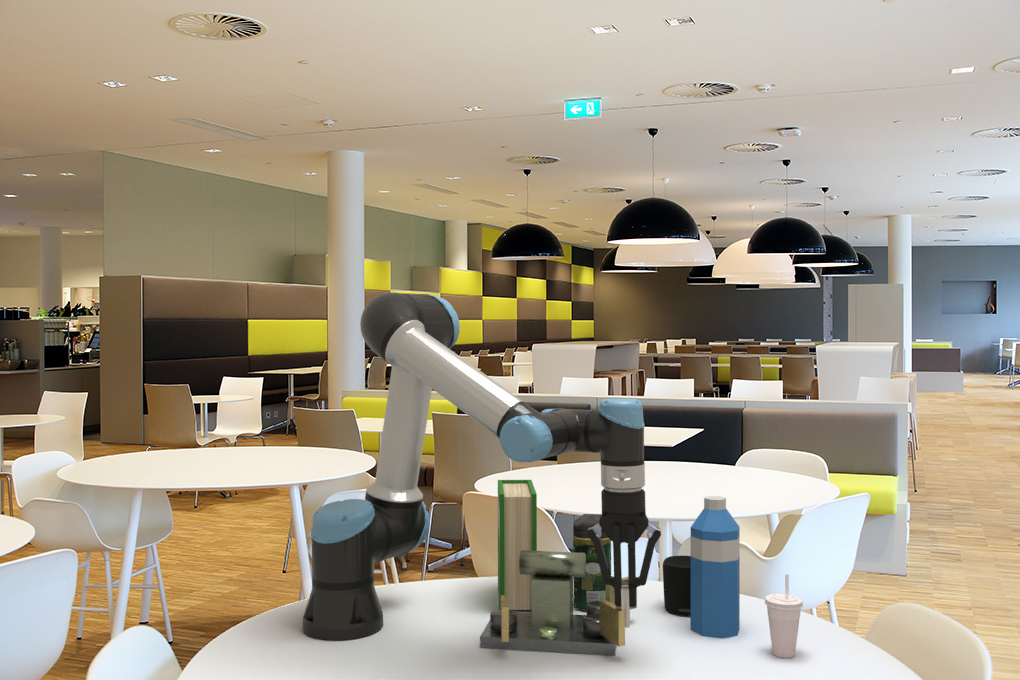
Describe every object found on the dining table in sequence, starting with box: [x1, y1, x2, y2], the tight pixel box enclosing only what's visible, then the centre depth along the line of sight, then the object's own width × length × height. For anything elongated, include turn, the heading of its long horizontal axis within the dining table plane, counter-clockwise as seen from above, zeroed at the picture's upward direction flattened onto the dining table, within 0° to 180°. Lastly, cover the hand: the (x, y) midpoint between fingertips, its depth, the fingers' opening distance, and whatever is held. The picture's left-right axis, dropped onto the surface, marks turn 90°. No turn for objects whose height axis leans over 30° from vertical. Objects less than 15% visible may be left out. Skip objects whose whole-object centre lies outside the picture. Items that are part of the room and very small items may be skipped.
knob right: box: [583, 599, 626, 647], centre depth 154 cm, size 12×5×6 cm, turn 22°
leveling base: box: [479, 550, 618, 656], centre depth 162 cm, size 24×15×15 cm, turn 80°
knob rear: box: [585, 576, 638, 616], centre depth 167 cm, size 12×5×6 cm, turn 126°
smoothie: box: [764, 573, 804, 659], centre depth 153 cm, size 6×6×14 cm
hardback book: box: [497, 479, 538, 611], centre depth 184 cm, size 18×7×24 cm, turn 2°
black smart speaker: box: [662, 555, 691, 618], centre depth 177 cm, size 9×9×10 cm
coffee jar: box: [572, 513, 612, 611], centre depth 180 cm, size 10×8×19 cm
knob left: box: [489, 595, 518, 642], centre depth 157 cm, size 12×5×6 cm, turn 2°
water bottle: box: [690, 495, 741, 639], centre depth 166 cm, size 9×9×25 cm
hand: (625, 624), depth 151 cm, fingers closed
